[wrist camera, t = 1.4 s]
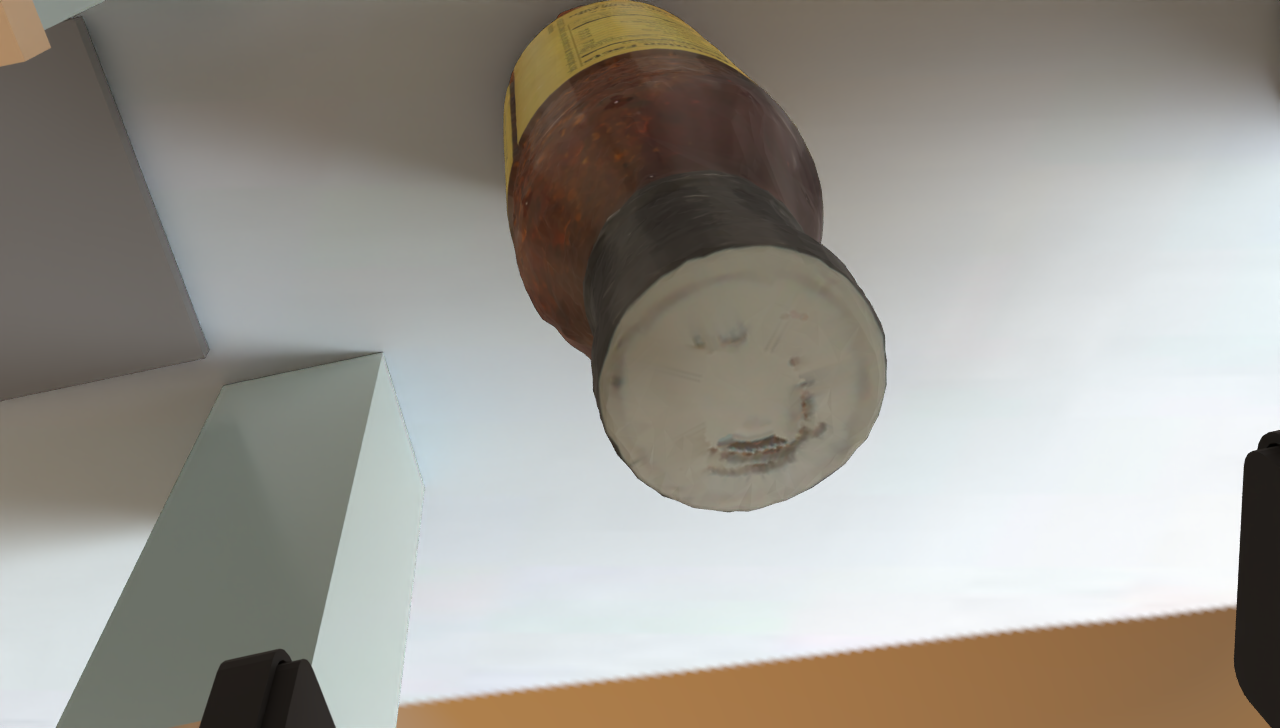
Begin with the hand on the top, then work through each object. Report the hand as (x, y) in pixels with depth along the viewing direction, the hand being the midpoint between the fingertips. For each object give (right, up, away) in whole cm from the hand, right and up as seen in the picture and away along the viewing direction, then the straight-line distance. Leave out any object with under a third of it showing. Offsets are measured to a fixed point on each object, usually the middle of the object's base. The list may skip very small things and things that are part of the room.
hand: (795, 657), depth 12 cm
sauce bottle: (-2, +11, +22) cm, 25 cm away
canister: (-11, +1, +26) cm, 28 cm away
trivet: (-20, +7, +22) cm, 31 cm away
